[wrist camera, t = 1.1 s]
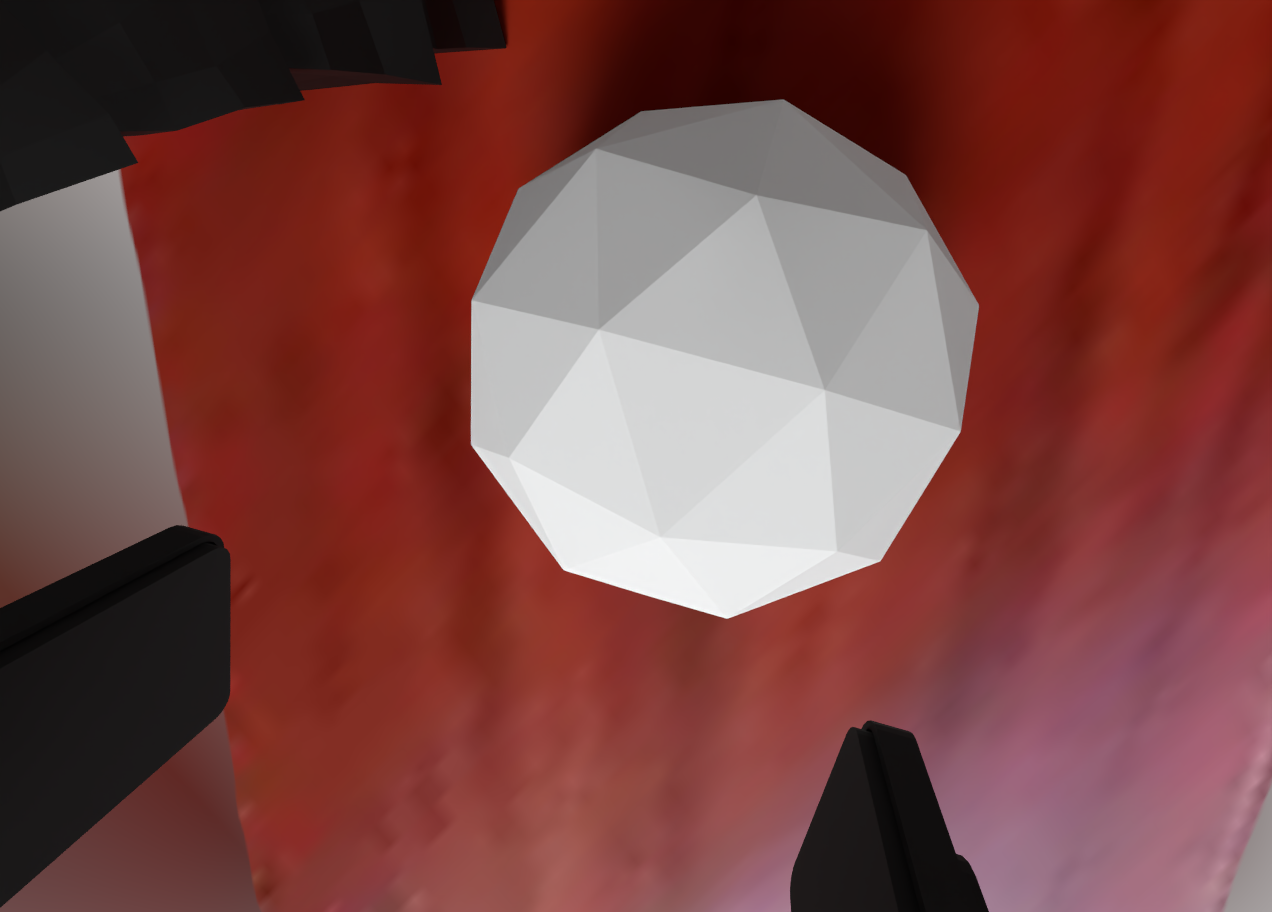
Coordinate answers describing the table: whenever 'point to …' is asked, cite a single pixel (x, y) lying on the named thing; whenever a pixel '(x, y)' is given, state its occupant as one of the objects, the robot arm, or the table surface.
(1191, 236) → the table surface
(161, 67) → the decorative tree
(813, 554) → the geometric sculpture
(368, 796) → the table surface
